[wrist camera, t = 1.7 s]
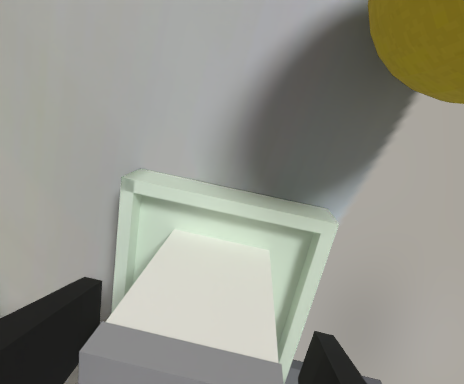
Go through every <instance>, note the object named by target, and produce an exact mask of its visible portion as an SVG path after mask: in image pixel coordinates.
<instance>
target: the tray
mask: <svg viewBox="0 0 464 384" xmlns="http://www.w3.org/2000/svg"><path fill="white" fill-rule="evenodd" d="M338 226H339V223H338V222H337V221H336V219H335V218H334V217H333V215H332V214H331V213H330V211H329V210H328V209H326V208H321V207H316V206H312V205H307V204H302V203H298V202H293V201H288V200H284V199H279V198H275V197H270V196H265V195H261V194H256V193H251V192H247V191H242V190H237V189H233V188H228V187H223V186H219V185H214V184H209V183H205V182H200V181H195V180H191V179H186V178H182V177H177V176H172V175H168V174H163V173H158V172H154V171H149V170H144V169H138V170H136V171H134V172H131V173H129V174H127V175H125V176H123V177H121V190H120V203H119V216H118V230H117V243H116V257H115V270H114V284H113V297H112V311H111V314H112V312H113V311H114V310H115V308H116V307H117V306H118V304H119V303H120V302H121V300H122V299H123V298H124V296H125V295H126V294H127V292H128V291H129V289H130V288H131V287H132V285H133V284H134V283H135V281H136V280H137V279H138V277H139V276H140V275H141V273H142V272H143V271H144V269H145V268H146V267H147V265H148V264H149V262H150V261H151V260H152V258H153V257H154V256H155V254H156V253H157V252H158V250H159V249H160V248H161V246H162V245H163V244H164V242H165V241H166V239H167V238H168V237H169V235H170V234H171V233H172V231H173V230H174V229H176V230H181V231H185V232H190V233H194V234H199V235H203V236H207V237H212V238H216V239H221V240H225V241H230V242H234V243H239V244H243V245H248V246H252V247H257V248H261V249H266V250H269V251H270V263H271V275H272V288H273V300H274V312H275V324H276V337H277V349H278V361H279V364H282V373H283V384H285V381H286V378H287V375H288V372H289V369H290V366H291V363H292V361H293V358H294V355H295V352H296V349H297V346H298V343H299V340H300V337H301V334H302V331H303V328H304V325H305V322H306V319H307V317H308V314H309V311H310V308H311V305H312V301H313V299H314V296H315V293H316V290H317V287H318V284H319V281H320V278H321V276H322V272H323V270H324V267H325V264H326V261H327V258H328V255H329V252H330V249H331V246H332V243H333V240H334V237H335V234H336V232H337V229H338Z"/></svg>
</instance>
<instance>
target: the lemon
mask: <svg viewBox="0 0 464 384" xmlns="http://www.w3.org/2000/svg"><path fill="white" fill-rule="evenodd" d="M368 12H369V23H370V34H371V37H372V40H373V42H374V45H375V48H376V51H377V54H378V56H379V57H380V59H381V60H382V62H383V63H384V64H385V66H386V67H387V69H388V70H389V71H390V73H391V74H392V75H393V76H394V77H396V78H397V79H398V80H400V81H401V82H402V83H404V84H405V85H406V86H408V87H409V88H410V89H412V90H414V91H417V92H419V93H422V94H425V95H427V96H430V97H433V98H435V99H438V100H441V101H445V102H450V103H460V104H461V103H462V104H464V0H369V1H368Z"/></svg>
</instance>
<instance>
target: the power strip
mask: <svg viewBox="0 0 464 384" xmlns="http://www.w3.org/2000/svg"><path fill="white" fill-rule="evenodd" d="M302 365H303V362H301V361H297V360H293V361H292V363H291V366H290V369H289V372H288V375H287V378H286V381H285V384H298V376H299V373H300V370H301V368H302ZM362 377H363V379H364V380H365V381H366V383H367V384H382V383H381V381H380V380H377V379H373V378H369V377H365V376H362Z"/></svg>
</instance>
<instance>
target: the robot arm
mask: <svg viewBox="0 0 464 384" xmlns="http://www.w3.org/2000/svg"><path fill="white" fill-rule="evenodd" d="M101 291H102V281H100V280H96V279H92V278H87V277H84V278H81V279H79V280H77V281H75V282H73V283H71V284H69V285H67V286H65V287H63V288H61V289H59V290H57V291H55V292H53V293H51V294H49V295H47V296H45V297H43V298H41V299H39V300H37V301H35V302H33V303H31V304H29V305H27V306H25V307H23V308H21V309H19V310H17V311H15V312H13V313H11V314H9V315H7V316H4V317H2V318H0V384H64V382H65V381H66V380H67V378H68V377H69V376H70V374H71V373H72V371H73V370H74V369H75V367H76V366H77V365H78V363H79V351H80V350H81V349H82V347H83V346H84V345H85V343H86V342H87V341H88V339H89V338H90V337H91V335H92V334H93V333H94V332H95V330H96V329H97V328H98V326H99V325H100V308H101ZM298 384H367V383H366V381H365V380H364V379H363V377H362V376H361V374H360V373H359V371H358V370H357V369H356V367H355V366H354V364H353V363H352V361H351V360H350V359H349V357H348V356H347V354H346V353H345V351H344V350H343V348H342V347H341V346H340V344H339V343H338V341H337V340H336V339H335V337H334V336H333V335H329V334H325V333H321V332H317V331H314V334H313V337H312V340H311V343H310V345H309V348H308V351H307V354H306V356H305V359H304V362H303V365H302V368H301V370H300V373H299V376H298Z"/></svg>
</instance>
